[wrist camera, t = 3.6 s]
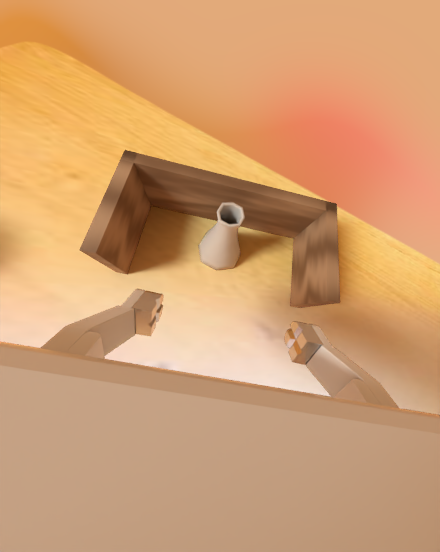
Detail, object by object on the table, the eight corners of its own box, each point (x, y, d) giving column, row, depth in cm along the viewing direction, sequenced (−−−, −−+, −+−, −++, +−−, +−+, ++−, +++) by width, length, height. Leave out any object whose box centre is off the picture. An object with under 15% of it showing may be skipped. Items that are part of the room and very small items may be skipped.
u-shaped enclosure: (299, 307, 27) (340, 302, 19) (116, 272, 25) (79, 250, 17) (302, 232, 31) (336, 203, 23) (144, 195, 28) (124, 149, 21)
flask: (202, 227, 28) (204, 180, 19) (242, 236, 29) (264, 194, 19) (194, 266, 26) (192, 236, 17) (237, 274, 27) (259, 249, 17)
